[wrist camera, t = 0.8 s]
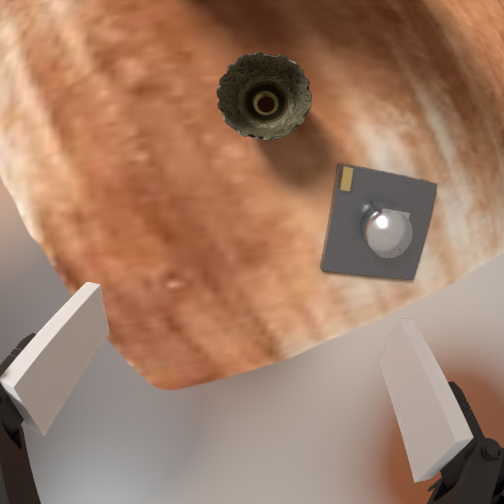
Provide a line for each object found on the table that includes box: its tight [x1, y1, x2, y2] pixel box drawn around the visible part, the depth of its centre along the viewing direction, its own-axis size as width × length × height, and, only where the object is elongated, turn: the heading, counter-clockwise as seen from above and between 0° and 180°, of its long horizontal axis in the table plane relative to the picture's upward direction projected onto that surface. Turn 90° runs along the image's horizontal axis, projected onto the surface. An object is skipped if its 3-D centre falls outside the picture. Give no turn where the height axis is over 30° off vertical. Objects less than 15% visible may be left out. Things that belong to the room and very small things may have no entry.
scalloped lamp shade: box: [217, 52, 312, 140], centre depth 25 cm, size 8×7×8 cm
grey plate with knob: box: [320, 163, 437, 280], centre depth 31 cm, size 12×12×4 cm
